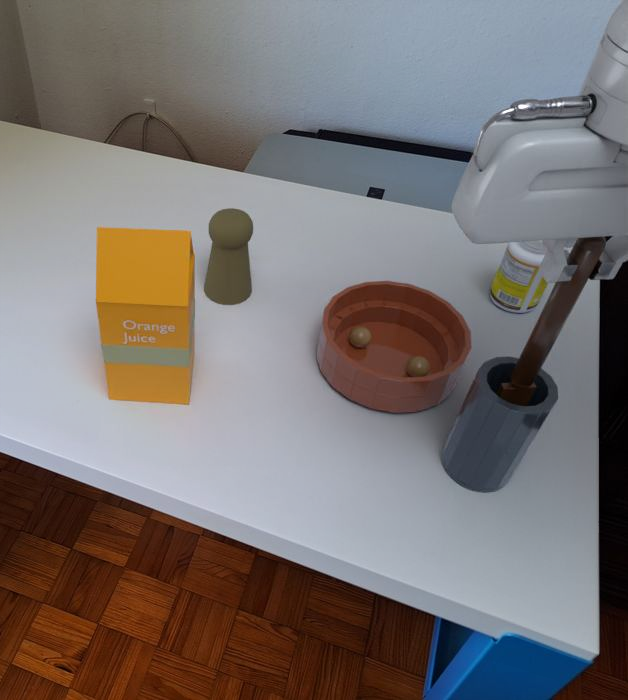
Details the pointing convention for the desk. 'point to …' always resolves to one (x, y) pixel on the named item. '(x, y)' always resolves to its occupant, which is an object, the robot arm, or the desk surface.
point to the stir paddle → (551, 322)
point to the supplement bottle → (519, 277)
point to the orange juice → (146, 313)
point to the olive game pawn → (229, 257)
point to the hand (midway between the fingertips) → (574, 275)
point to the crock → (495, 428)
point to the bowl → (392, 345)
